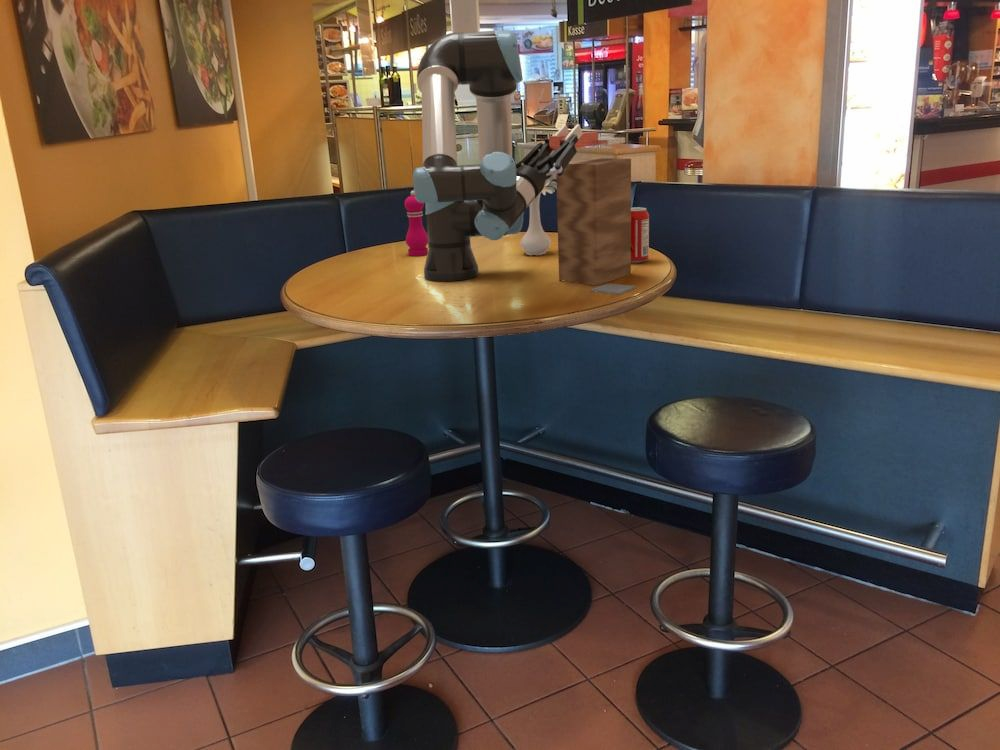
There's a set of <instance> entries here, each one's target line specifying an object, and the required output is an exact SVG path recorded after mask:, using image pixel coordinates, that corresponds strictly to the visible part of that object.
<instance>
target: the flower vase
mask: <svg viewBox="0 0 1000 750" xmlns="http://www.w3.org/2000/svg"><path fill="white" fill-rule="evenodd" d="M553 179H554V174H552V175H551V177H550V178H548V179H547V180H546V181H545V184H544V188H543V190H542V191H541V192H540V193H539V195H538V196H537V197H536V198H535V199H534V200H533V201H532V203H531V204H530V205H529V222H528V223H529V224H528V228H527V231H526V233H525V234H524V235H523V236H522V238H521V239H520V240H521V241H520V247H521V248H522V249H523V250H524V251H525V254H526V255H528V256H532V255H536V256H543V254H544V255H546V254H547V250H548V249H549V248H550V247H551V244H552V242H551V238H550V236H549V235H548V234H547V233H546V232H545V231H544V228H543V226H542V223H541V213H540V212H541V211H540V200H541V194H542V195H544V196H546V195H547V193H548V194H550V195H551V194H553V193H556V191H557V181H553Z"/></svg>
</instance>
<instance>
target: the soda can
mask: <svg viewBox="0 0 1000 750" xmlns="http://www.w3.org/2000/svg"><path fill="white" fill-rule="evenodd" d="M649 233H650V214H649V212H648V210H647V208H646V207H639V206H638V207H631V264H633V263H635V264H642V263H645V262H646V261H648V259H649V256H650V255H649V249H650V246H649V245H650V244H649V243H650V241H649V240H650V235H649Z"/></svg>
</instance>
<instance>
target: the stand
mask: <svg viewBox="0 0 1000 750" xmlns="http://www.w3.org/2000/svg"><path fill="white" fill-rule="evenodd" d="M555 175H556V176H555V177H556V182H557V190H556V210H557V211H556V212H557V213H556V214H557V216H556V217H557V249H558V281H559V280H564V281H563V282H566V281H570V282H569V283H574V282H577V283H576V284H581V283H584V284H583V285H589V284H591V286H601V285H602V284H603V285H604V284H607V283H609V282H610V281H614V280H617V279H620V278H622V277H624V276H628V275H631V274H632V268H631V267H632V263H631V208H632V158H620V157H619V158H617V157H610V158H608V157H590V158H583V159H578V160H571V161H570V162H569V164H568V165H567V166H566V168H565V169H564V172H563V175H561V176H558V174H557V173H556V174H555Z"/></svg>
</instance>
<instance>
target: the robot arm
mask: <svg viewBox="0 0 1000 750" xmlns="http://www.w3.org/2000/svg"><path fill="white" fill-rule="evenodd" d="M522 81H524V80H523V70H522V64H521V58H520V52H519V45H518V40H517V36H516V33H514V32H513V31H511V30H498V29H495V30H485V31H484V30H482V31H469V32H467V31H466V32H451V33H446V34H444V35H442V36H440V37H439V38H437V39H436V40H435V41H434V42H433V43H431V44H430V45H429V47H428V48H427V49H426V51H425V52H424V54H423V55H422V57H421V59H420V62H419V64H418V66H417V73H416V84H417V88H418V90H419V91H420V93H421V125H422V127H421V128H422V132H421V133H422V136H421V137H422V166H421V167H415V168H414V169H413V174H412V182H413V191H414V194H415V198H416V200H417V201H418V202H420V203H424V204H425V212H424V213H425V217H426V230H427V232H426V233H427V236H428V244H427V245H428V247H427V248H428V254H426V259H425V263H424V267H423V268H424V269H423V276H424V278H425V280H429V281H437V282H453V281H454V282H457V281H462V280H463V281H464V280H469V279H473V278H475V277H477V276H479V265H478V262H477V259H476V257H475V255H474V251H473V250H472V246H471V238H473V237H484V238H485V239H489V240H490V241H498V240H501V239H502V238H503V237H505V236H508V235H509V236H510V235H517V234H518V233H520V232H521V230H522V228H523V224H524V214H525V211H526V210H527V208H528V207H530V204H531V203H532V201H533V200H534V199H535V198H536V197H537V196H538V195H539V193H540V192H541V191H542V190H543V188H544V184H545V181H546V180H547V179H548V178H550V177H551V175H552V174H553V175H556V173H557V174H558V176H561V175H563V172H564V169H565V168H566V166H567V165H568V164H569V162H570V161H572V159H573V158H574V157H575V155H576V154H577V152H578V150H577V148H575V144H576V143H577V142H578V139H579V138H580V137H581V136H582V134H583V133H582V132H583V131H582V130H583V129H582V127H581V125H580V123H579V124H578V123H577V124H576V125H575V126H574V127H573V128H572V130H570V132H569V128H568V126H567V124H565V123H564V124H563V125H562V126H561V127H560V128H559V130H558V131H557V132H555V134H554V135H553V136H557V135H565V134H568V135H567V136H566V138H565V139H564V143H563V144H562V145H561V146H560V147H559V148H558V149H557V150H549V137H548V138H547V137H546V138H544V139H543V141H544V143H543V142H538V143H537V144H536V145H535V146H534V147H533V148H532V149H531V150H530V151H529V152H528V153H527V154H526V155H525V156H524V157H523V158H522V160H520V161H519V162H517V163H516V161H515V159H514V158H513V135H512V133H513V130H512V96H513V94H515V92H517V89H518V88H517V87H518V85H517V84H519V83H521V82H522ZM459 85H462V86H464V85H468V87H469V92H470V94H471V95H472V96H474V97H475V98H476V99H475V103H476V117H477V118H476V119H477V138H478V139H477V140H478V141H477V142H478V157H479V163H478V164H462V165H458V152H457V129H456V126H457V125H456V105H455V103H456V102H455V92H456V91H457V89H458V86H459ZM541 193H542V192H541Z"/></svg>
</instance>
